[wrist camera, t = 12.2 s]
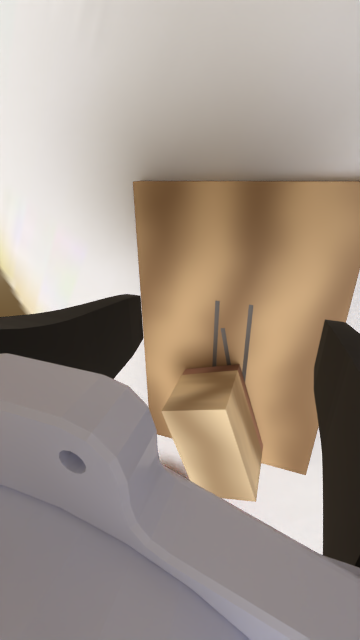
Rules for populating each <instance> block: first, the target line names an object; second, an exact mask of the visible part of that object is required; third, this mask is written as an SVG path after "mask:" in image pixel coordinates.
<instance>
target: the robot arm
mask: <svg viewBox="0 0 360 640" xmlns="http://www.w3.org/2000/svg"><path fill="white" fill-rule="evenodd" d="M142 340H143V326H142V312H141V298H140V296H138V295H130V294H124V295H117V296H113V297H109V298H105V299H101V300H97V301H93V302H90V303H86V304H82V305H78V306H74V307H69V308H65V309H61V310H56V311H50V312H44V313H38V314H30V315H20V316H9V317H0V640H360V334H359V333H358V332H357V331H356V330H354V329H353V328H352V327H351V326H349V325H348V324H347V323H345V322H341V321H333V320H325V321H324V325H323V330H322V334H321V339H320V343H319V347H318V352H317V356H316V361H315V365H314V397H315V404H316V411H317V418H318V424H319V431H320V438H321V446H322V464H323V555H321V554H318V553H317V552H315V551H313V550H311V549H309V548H308V547H306V546H304V545H302V544H301V543H299V542H297V541H295V540H294V539H292V538H290V537H288V536H287V535H285V534H283V533H281V532H280V531H278V530H276V529H274V528H273V527H271V526H269V525H267V524H266V523H264V522H262V521H260V520H259V519H257V518H255V517H253V516H252V515H250V514H248V513H246V512H244V511H243V510H241V509H239V508H237V507H236V506H234V505H232V504H230V503H229V502H227V501H225V500H223V499H222V498H220V497H218V496H216V495H215V494H213V493H211V492H209V491H208V490H206V489H204V488H202V487H201V486H199V485H197V484H195V483H194V482H192V481H190V480H188V479H186V478H185V477H183V476H181V475H179V474H178V473H176V472H174V471H172V470H171V469H169V468H167V467H165V466H164V465H163V464H162V463H161V462H160V460H159V455H158V447H157V430H156V427H155V424H154V421H153V419H152V416H151V413H150V410H149V408H148V406H147V405H146V404H145V403H144V401H143V400H142V399H141V398H140V397H139V396H138V395H137V394H136V393H135V392H134V391H133V390H132V389H131V388H130V387H129V386H127V385H125V384H123V383H121V382H118V381H116V380H114V378H115V376H116V375H117V374H118V373H119V372H120V371H121V369H122V368H123V367H124V366H125V365H126V363H127V362H128V361H129V360H130V359H131V357H132V356H133V355H134V353H135V352H136V350H137V348H138V347H139V345H140V343H141V341H142Z"/></svg>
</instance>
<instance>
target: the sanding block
mask: <svg viewBox="0 0 360 640" xmlns="http://www.w3.org/2000/svg"><path fill="white" fill-rule="evenodd" d="M162 414H163V416H164V419H165V421H166V423H167V426H168V428H169V431H170V433H171V435H172V438H173V440H174V443H175V445H176V448H177V450H178V452H179V455H180V457H181V460H182V462H183V464H184V467H185V469H186V472H187V474H188V476H189V479H190V481H192V482H194V483H195V484H197V485H199V486H201V487H202V488H204V489H206V490H208V491H209V492H211V493H213V494H215V495H216V496H218V497H220V498H226V499H236V500H245V501H255V502H256V497H257V489H258V482H259V474H260V466H261V459H262V451H263V443H262V440H261V436H260V433H259V429H258V426H257V422H256V419H255V416H254V412H253V409H252V405H251V402H250V398H249V395H248V391H247V388H246V385H245V381H244V378H243V374H242V371H241V367H240V364H237V365H226V366H215V367H204V368H193V369H185V371H184V372H183V374H182V376H181V378H180V379H179V381H178V383H177V385H176V386H175V388H174V390H173V392H172V393H171V395H170V397H169V399H168V400H167V402H166V404H165V406H164V407H163V409H162Z"/></svg>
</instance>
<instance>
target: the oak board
mask: <svg viewBox="0 0 360 640" xmlns="http://www.w3.org/2000/svg"><path fill="white" fill-rule="evenodd" d="M133 190H134V204H135V218H136V233H137V247H138V261H139V275H140V289H141V304H142V318H143V332H144V346H145V360H146V375H147V389H148V403H149V410H150V413H151V416H152V419H153V421H154V424H155V427H156V430H157V434H158V435H162V436H165V437H169V438H172V435H171V433H170V431H169V428H168V426H167V423H166V421H165V419H164V416H163V414H162V409H163V407H164V406H165V404H166V402H167V400H168V399H169V397H170V395H171V393H172V392H173V390H174V388H175V386H176V385H177V383H178V381H179V379H180V378H181V376H182V374H183V372H184V371H185V369H193V368H204V367H215V366H226V365H237V364H240V367H241V371H242V374H243V378H244V381H245V385H246V388H247V391H248V395H249V398H250V402H251V405H252V409H253V412H254V416H255V419H256V422H257V426H258V429H259V433H260V436H261V440H262V443H263V451H262V459H261V463H263V464H267V465H271V466H274V467H278V468H281V469H285V470H289V471H292V472H296V473H300V474H303V475H306V472H307V468H308V465H309V461H310V457H311V453H312V449H313V445H314V442H315V438H316V434H317V430H318V426H319V424H318V418H317V411H316V404H315V397H314V365H315V361H316V356H317V352H318V347H319V343H320V339H321V334H322V330H323V325H324V321H325V320H333V321H341V322H345V323H346V320H347V316H348V312H349V308H350V304H351V300H352V297H353V293H354V289H355V285H356V281H357V278H358V274H359V270H360V181H135V182H133Z"/></svg>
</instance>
